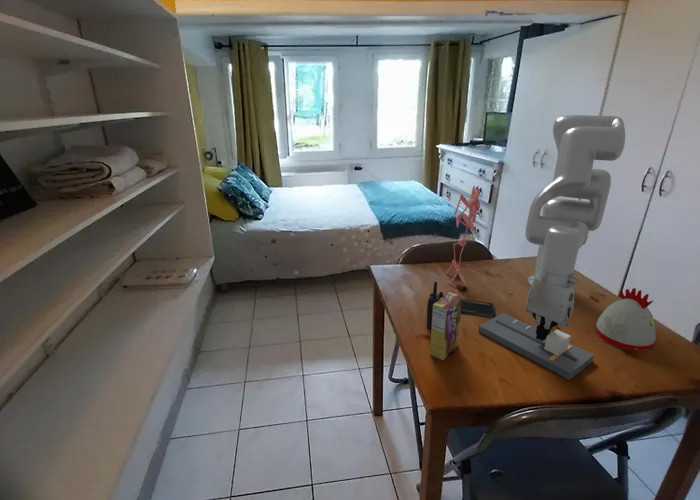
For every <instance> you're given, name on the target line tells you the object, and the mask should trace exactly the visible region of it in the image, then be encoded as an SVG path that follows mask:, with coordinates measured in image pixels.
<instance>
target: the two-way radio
mask: <svg viewBox="0 0 700 500" xmlns="http://www.w3.org/2000/svg"><path fill="white" fill-rule="evenodd" d="M437 292H438V282H437V281H434V283H433V291H432V293H430V294H429V297H428V300H427V305H426V306H427V307H426V328H427V329H430V330H431V328H432V312H433V304H435V303H436V302H437V301H438V300H440V299H441V298H442V297H443V296H444V292H443V291H439V294H438V293H437Z"/></svg>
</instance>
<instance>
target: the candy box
mask: <svg viewBox="0 0 700 500" xmlns="http://www.w3.org/2000/svg"><path fill="white" fill-rule="evenodd" d="M462 300H463V296H462V295H460V294H457V293H453V292H451V291H449V292H447V293H446V294H444V295H443V297H442V298H441V299H440V300H438V301H437V302H436V303H435V304H433V312H432V328H431V329H430V330H431V331H430V332H431V333H430V347H429V348H430V349H429V355H430V356H432V357H435V358H437V359H439V360H441V361H444V360H445V359H446V358H447V357H448V356H449V355H450V354H451V353H452V352H453V351H454V350H455V349H456V347H458V346H459V341H460V340H459V338H460V336H459V335H460V328H461V327H460V325H461V315H462V313H461V304H462Z"/></svg>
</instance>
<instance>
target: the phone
mask: <svg viewBox="0 0 700 500" xmlns="http://www.w3.org/2000/svg"><path fill="white" fill-rule="evenodd" d="M461 314H465V315H473V316H479V317H480V316H481V317H486V318H494V317H496V311H495V304H493V303H490V302H483V301H478V300H477V301H475V300H468V299H462V304H461Z"/></svg>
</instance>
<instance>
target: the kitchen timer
mask: <svg viewBox="0 0 700 500" xmlns="http://www.w3.org/2000/svg"><path fill="white" fill-rule="evenodd" d="M649 294H650V293H646V294H644V296H643V297H642V289H640V290H638V291H637V289H636V287H634V288H632V289H631V291H630V289H629V288H627V289H625V294H624V291H623V290H619V297H620V299H618V300H616V301H614V302H613V303H611V304H610V305H608V307H606V308H605V310H603V312H602V313H601V315H599V317H598V318H597V321H596V324H595V328H594V331H595V333H596V335H597V337H599V338H600V339H601V340H603V341H604V342H606V343H608V344H610V345H613V346H615V347H617V348H621V349H623V350H627V349H628V351H632V350H639V351H638V352H642V351H641V350H647V349H649V350H651V349H652V348H653V347H654V346H655V342H656V338H657V337H656V336H657V335H656V325H655V324H656V323H655V319H654V316H653V313H652V311H651V310H650V309H649V305H651V304H652V303H653V302H654V300H650V301H648V298H649ZM653 345H654V346H653ZM652 346H653V347H652ZM651 347H652V348H651ZM650 348H651V349H650ZM647 351H648V350H647Z"/></svg>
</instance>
